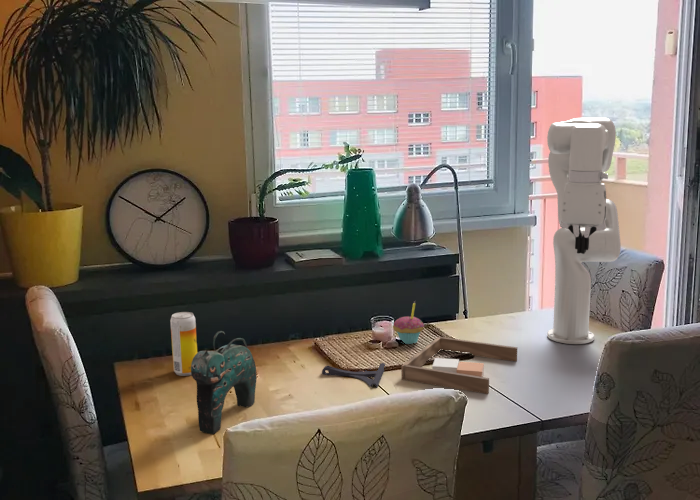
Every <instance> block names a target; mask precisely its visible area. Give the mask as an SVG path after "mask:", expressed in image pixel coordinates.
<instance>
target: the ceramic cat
mask: <svg viewBox="0 0 700 500" xmlns="http://www.w3.org/2000/svg"><path fill="white" fill-rule="evenodd" d="M220 334H222V335H223V336H225V335H226V333H225V331H223V330H219V331H217V332H216V333H215V334H214V336H213V339H212V347H213V350H214V351H213V350H200V351H197V354H196V355H195V356H194V358H193V360H192V364H191V375H190V376H191V377H192V379H193V380H194V381H195V382H196V404H197V405H196V406H197V413H198V414H197V416H198V428H199V432H200V433H203V434H209V435H215V434H216V433H217V432H219V431H220V430H221V427H222V425H221V423H222V417H223V416H222V414H223V409H224V405H225V401H226V397H227V395H228V393H229V392H230V390H231V389H232V388H233V389H234V393H235V394H234V395H235V398H236V405H237V407H243V408H249V407H252V406H253V405H254V404H255V402H256V401H255V399H256V388H257V387H256V386H257V378H258V377H257V367H256V362H255V359H254V356H253V354H252V352H251V350H250V349H249V348H248V345H247V341H246V340H245V339H244V338H243V337H242V338H241V337H237V338H233V339H232V340H231V341H230V342H229V343H228V344H225V345H223V346H221V347H219V348H218V349H217V350H216V342H215V341H216V338H217V337H218V335H220ZM237 341H242V342H243V344H244V345H240V344H234V343H233V342H237Z"/></svg>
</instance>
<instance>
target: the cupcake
mask: <svg viewBox="0 0 700 500" xmlns="http://www.w3.org/2000/svg"><path fill="white" fill-rule="evenodd" d="M415 309H416V300H415V301H413V303H412V309H411V314H410V316H409V315H407V316H400V317H399V318H397V319H396V320H394V322H393V325H392V329H393V330H394V331H395V332H396V334H397V335H398V338H399V341H400V340H402V341H403V342H404V343H405V344H406V345H412V344H413V343H414V344H416V343H418V340H419V337H420V334H421V332H422V331H424V327H425V323H424V322H423V321H422V320H421V319H420V318H418V317H416V316H414V315H415ZM404 343H403V344H404ZM414 344H413V345H414Z"/></svg>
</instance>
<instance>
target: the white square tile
mask: <svg viewBox="0 0 700 500" xmlns="http://www.w3.org/2000/svg"><path fill="white" fill-rule="evenodd" d="M459 362H460V359H459V358H457V359H456V358H441V357H440V358H439V357H435V358H434V360H433V363H432V366H431V367H432V368H431V369H435V370H441V371H448V372H454V373H457V367H458V364H459Z"/></svg>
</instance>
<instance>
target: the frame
mask: <svg viewBox="0 0 700 500" xmlns="http://www.w3.org/2000/svg"><path fill="white" fill-rule="evenodd" d="M440 349H443V350H451V351H460V352H470V353H472V354H473V355H472V356H475V357H481V358H483V357H484V358H489V359H496V360H503V361H509V362H517V361H518V347H516V346H509V345H502V344H495V343H488V342H482V341H481V342H480V341H474V340H465V339H461V338H460V339H458V338H453V337H452V338H451V337H444V336H438V337H436V338H435V339H434V340H433V341H431V342H430V343H428V344H427V345H426V346H425V347H424V348H422V349H421V350H419V351H418V352H417V353H416V354H415V355H413V356H412V357H411V358H409V359H408V360H407V361H406V362H404V363H402V365H401V380H403V381H408V382H413V383H422V384H427V385H432V386H438V387H442V388H443V387H444V388H449V387H450V388H449V389H456V390H461V391H468V392H473V393H479V394H486V395H489V393H490V378H489V377H484V376H483V377H479V376H473V375H466V374H460V373H454V372H448V371H441V370H435V369H432V368H427V367H423V366H424V365H426V363H427V362H426V361H427V360H428V359H429V358H431V357H432V356H433V355H434V354H436V353H437V352H438V351H439V350H440ZM437 354H438V353H437ZM437 354H436V355H437ZM431 359H432V358H431Z"/></svg>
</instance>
